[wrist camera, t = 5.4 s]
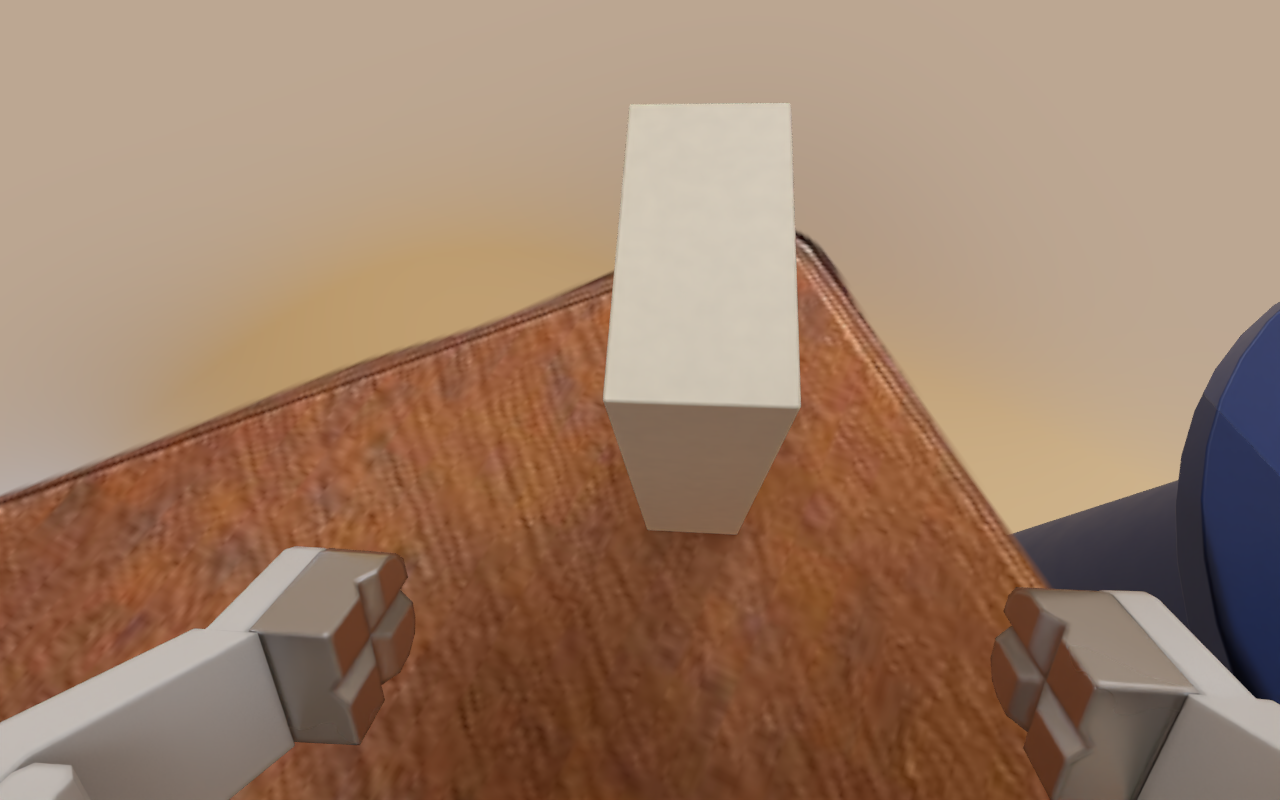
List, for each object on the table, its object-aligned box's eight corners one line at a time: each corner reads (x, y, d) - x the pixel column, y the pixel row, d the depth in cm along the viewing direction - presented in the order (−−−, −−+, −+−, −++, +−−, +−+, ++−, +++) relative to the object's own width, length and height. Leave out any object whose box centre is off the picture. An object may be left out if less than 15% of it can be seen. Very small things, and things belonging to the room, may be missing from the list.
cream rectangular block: (738, 368, 22) (791, 101, 11) (737, 534, 20) (802, 408, 9) (656, 366, 23) (628, 102, 12) (646, 530, 21) (602, 401, 9)
